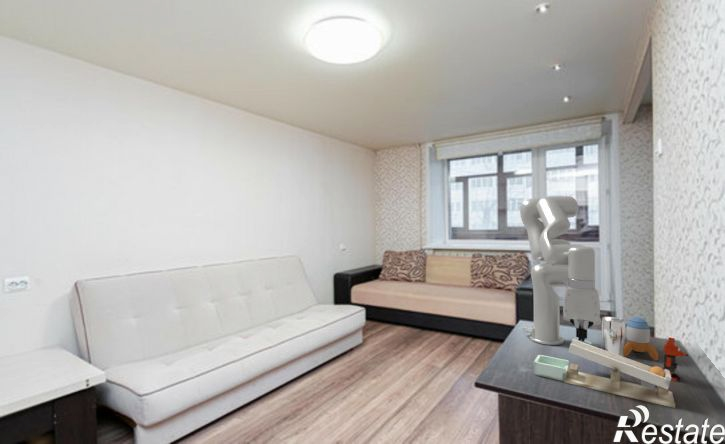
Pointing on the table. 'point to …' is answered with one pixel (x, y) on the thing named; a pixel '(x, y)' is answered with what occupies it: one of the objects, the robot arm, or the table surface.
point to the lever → (620, 363)
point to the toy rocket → (639, 338)
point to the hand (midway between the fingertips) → (581, 339)
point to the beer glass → (614, 334)
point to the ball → (657, 371)
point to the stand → (619, 386)
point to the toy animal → (672, 358)
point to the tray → (551, 367)
